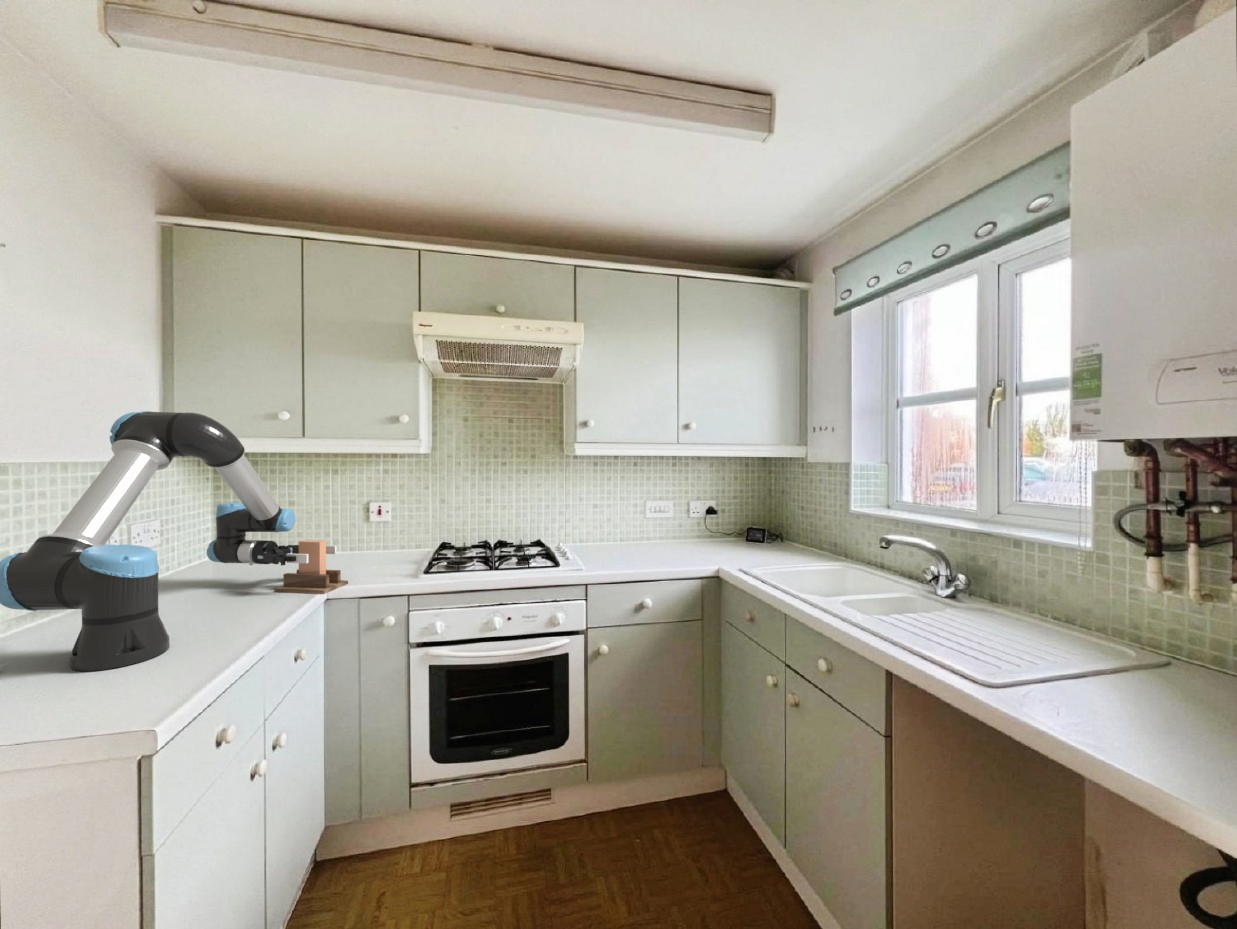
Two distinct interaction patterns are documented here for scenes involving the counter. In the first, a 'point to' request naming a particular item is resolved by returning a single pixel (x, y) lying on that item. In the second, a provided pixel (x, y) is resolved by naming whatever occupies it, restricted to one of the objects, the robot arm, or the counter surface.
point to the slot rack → (312, 582)
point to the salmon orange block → (313, 556)
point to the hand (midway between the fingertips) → (322, 554)
